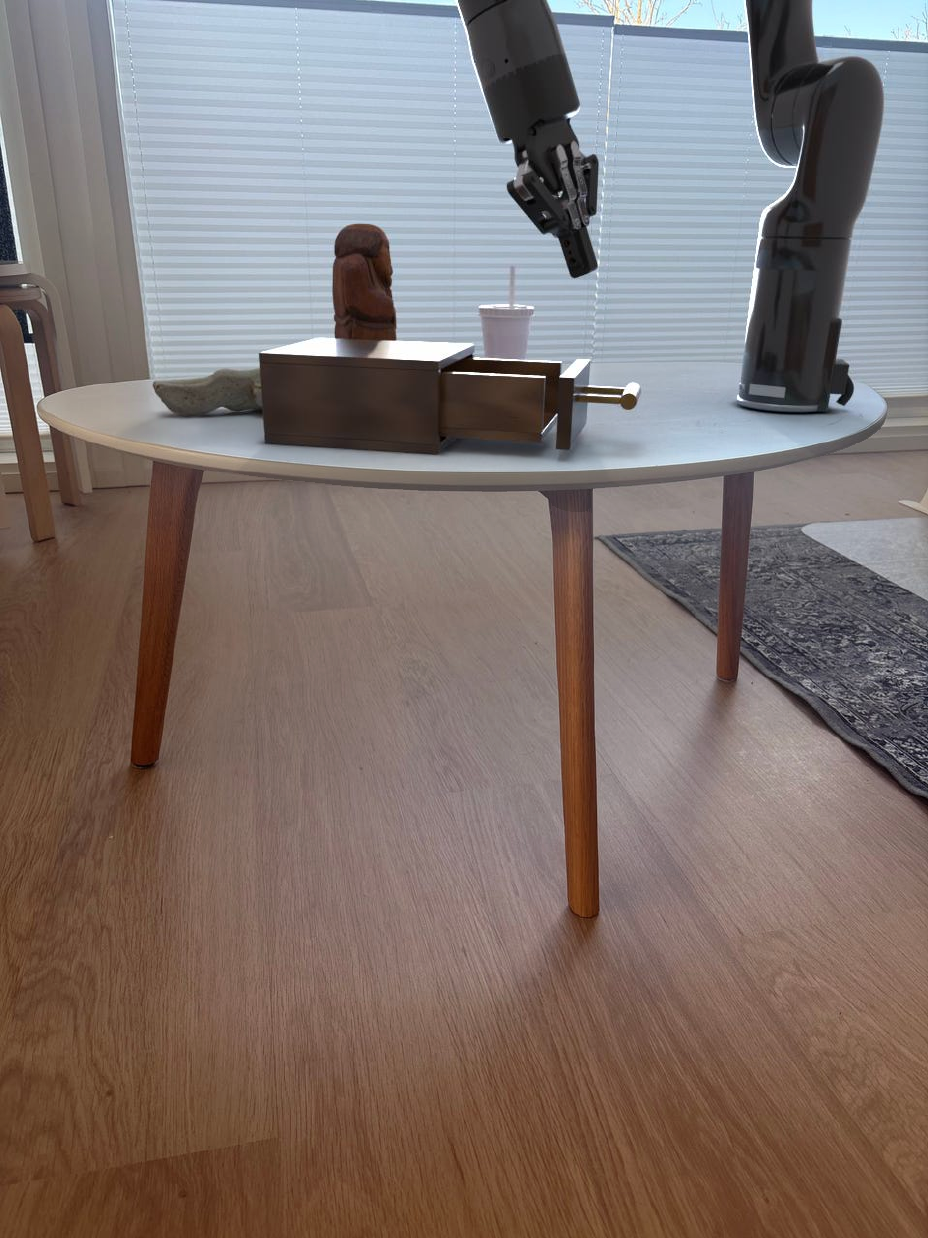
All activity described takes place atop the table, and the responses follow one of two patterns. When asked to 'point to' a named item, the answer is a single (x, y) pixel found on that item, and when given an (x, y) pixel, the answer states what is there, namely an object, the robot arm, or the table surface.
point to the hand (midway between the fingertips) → (585, 273)
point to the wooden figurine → (363, 285)
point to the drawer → (521, 400)
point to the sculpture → (212, 392)
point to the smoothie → (506, 327)
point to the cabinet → (357, 393)
